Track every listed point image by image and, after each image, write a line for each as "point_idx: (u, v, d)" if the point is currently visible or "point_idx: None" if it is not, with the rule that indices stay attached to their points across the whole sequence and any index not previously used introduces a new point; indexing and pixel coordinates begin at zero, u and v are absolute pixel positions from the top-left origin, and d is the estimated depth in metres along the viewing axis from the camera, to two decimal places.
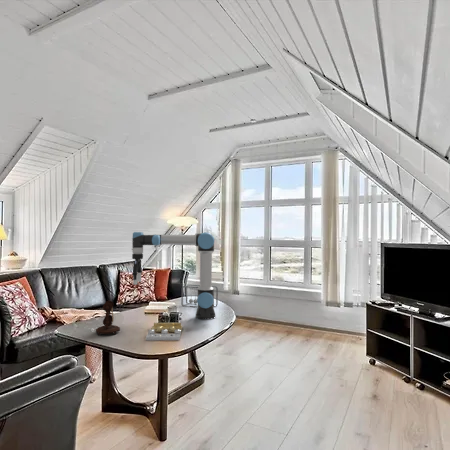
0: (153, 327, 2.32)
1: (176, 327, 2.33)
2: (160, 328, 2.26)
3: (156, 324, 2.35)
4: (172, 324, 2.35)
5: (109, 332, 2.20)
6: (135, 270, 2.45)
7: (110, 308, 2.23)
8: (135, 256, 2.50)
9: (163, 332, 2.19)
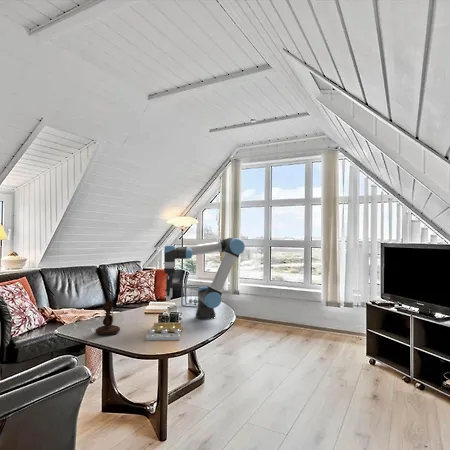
0: (153, 327, 2.32)
1: (176, 327, 2.33)
2: (160, 328, 2.26)
3: (156, 324, 2.35)
4: (172, 324, 2.35)
5: (109, 332, 2.20)
6: (168, 286, 2.38)
7: (110, 308, 2.23)
8: (167, 271, 2.43)
9: (163, 332, 2.19)
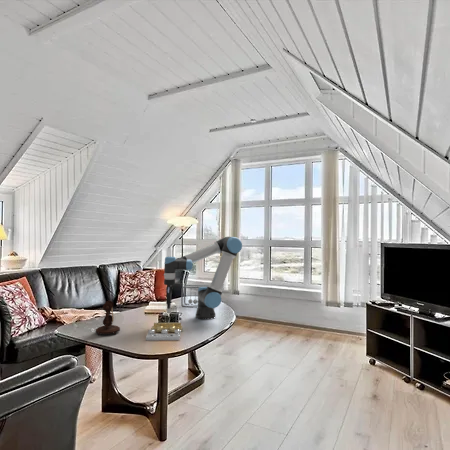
0: (153, 327, 2.32)
1: (176, 327, 2.33)
2: (160, 328, 2.26)
3: (156, 324, 2.35)
4: (172, 324, 2.35)
5: (109, 332, 2.20)
6: (169, 299, 2.42)
7: (110, 308, 2.23)
8: (167, 282, 2.43)
9: (163, 332, 2.19)
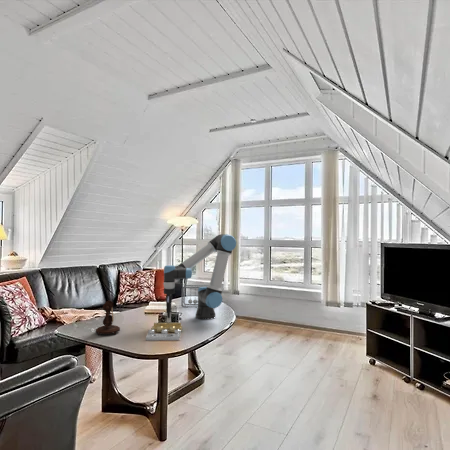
0: (153, 327, 2.32)
1: (176, 327, 2.33)
2: (160, 328, 2.26)
3: (156, 324, 2.35)
4: (172, 324, 2.35)
5: (109, 332, 2.20)
6: (168, 309, 2.40)
7: (110, 308, 2.23)
8: (167, 291, 2.41)
9: (163, 332, 2.19)
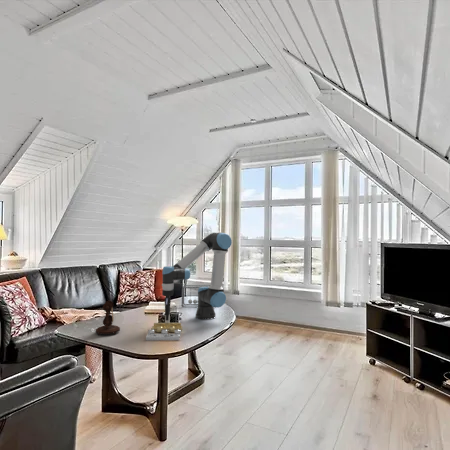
0: (153, 327, 2.32)
1: (176, 327, 2.32)
2: (160, 328, 2.26)
3: (156, 324, 2.35)
4: (172, 324, 2.35)
5: (109, 332, 2.20)
6: (167, 311, 2.33)
7: (110, 308, 2.23)
8: (166, 293, 2.34)
9: (163, 332, 2.19)
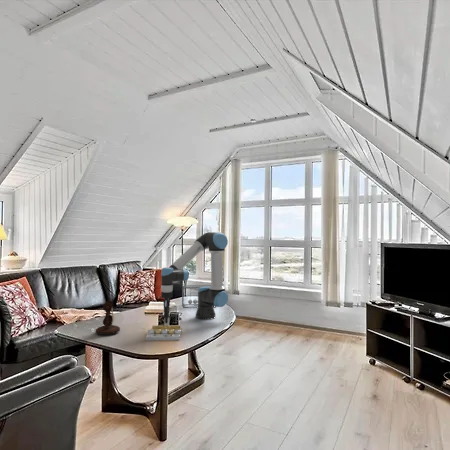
0: None
1: None
2: (159, 331, 2.20)
3: (154, 327, 2.28)
4: (171, 327, 2.29)
5: (109, 332, 2.20)
6: (166, 314, 2.27)
7: (110, 308, 2.23)
8: (165, 295, 2.27)
9: (163, 332, 2.19)
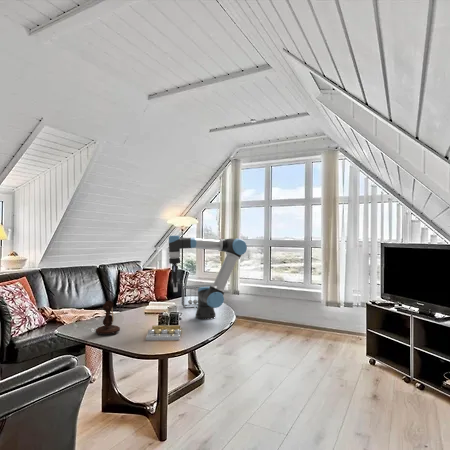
0: None
1: None
2: (158, 331, 2.20)
3: (154, 327, 2.28)
4: (171, 327, 2.29)
5: (109, 332, 2.20)
6: (175, 278, 2.40)
7: (110, 308, 2.23)
8: (173, 261, 2.41)
9: (163, 332, 2.19)
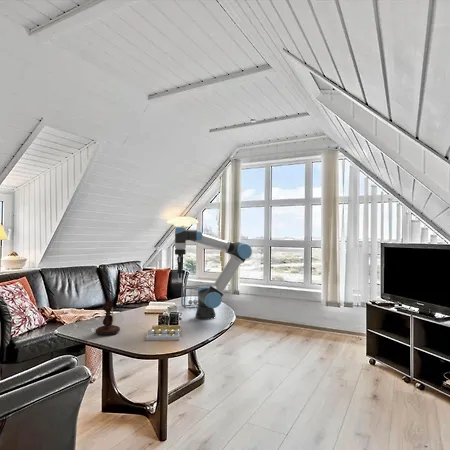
0: None
1: None
2: (158, 331, 2.20)
3: (154, 327, 2.28)
4: (171, 327, 2.29)
5: (109, 332, 2.20)
6: (180, 269, 2.44)
7: (110, 308, 2.23)
8: (178, 251, 2.45)
9: (163, 332, 2.19)
